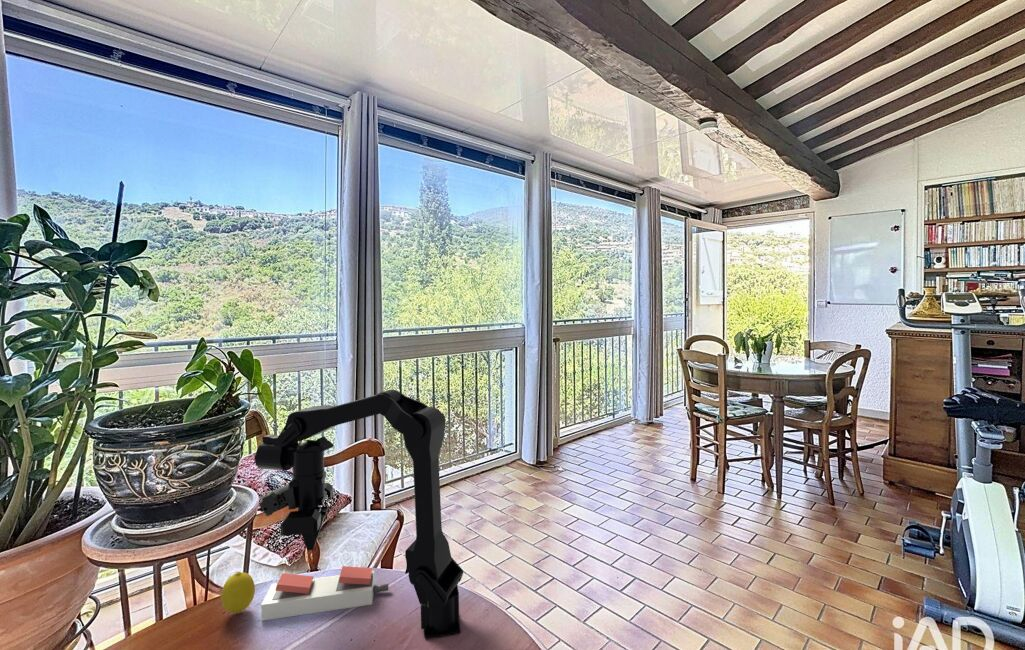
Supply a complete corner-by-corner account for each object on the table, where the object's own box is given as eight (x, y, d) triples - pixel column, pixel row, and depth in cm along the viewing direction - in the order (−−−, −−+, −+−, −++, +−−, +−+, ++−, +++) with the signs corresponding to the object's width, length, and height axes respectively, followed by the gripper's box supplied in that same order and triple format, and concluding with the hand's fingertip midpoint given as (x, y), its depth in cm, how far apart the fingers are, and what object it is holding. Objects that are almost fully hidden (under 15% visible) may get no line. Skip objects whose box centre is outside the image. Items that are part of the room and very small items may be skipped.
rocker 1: (312, 582, 93) (313, 576, 93) (307, 593, 89) (309, 587, 89) (281, 578, 92) (282, 573, 92) (275, 590, 88) (276, 584, 88)
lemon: (244, 622, 85) (243, 580, 85) (215, 622, 85) (214, 580, 85) (261, 604, 91) (260, 564, 91) (233, 604, 91) (232, 564, 91)
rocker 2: (371, 573, 95) (372, 568, 95) (369, 584, 92) (370, 578, 92) (341, 571, 94) (342, 566, 94) (338, 582, 90) (339, 576, 90)
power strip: (389, 582, 98) (388, 568, 98) (387, 602, 91) (387, 586, 91) (272, 598, 93) (271, 583, 93) (261, 620, 86) (261, 604, 86)
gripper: (277, 460, 98) (279, 533, 98) (247, 493, 79) (250, 581, 80) (332, 456, 100) (334, 526, 100) (316, 486, 82) (318, 572, 82)
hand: (310, 549), depth 91 cm, fingers closed
